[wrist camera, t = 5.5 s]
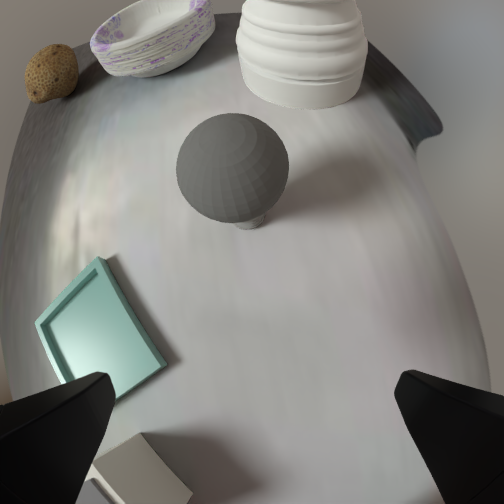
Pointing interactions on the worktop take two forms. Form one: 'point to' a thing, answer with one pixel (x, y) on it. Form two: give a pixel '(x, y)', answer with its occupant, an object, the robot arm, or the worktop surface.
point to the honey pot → (302, 51)
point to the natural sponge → (51, 73)
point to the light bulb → (232, 169)
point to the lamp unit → (132, 477)
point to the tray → (97, 332)
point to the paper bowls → (152, 36)
